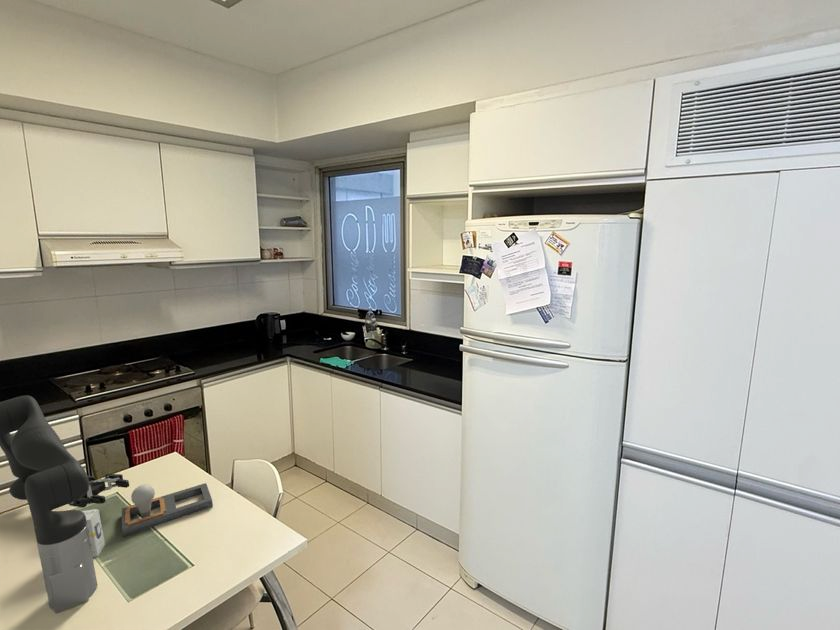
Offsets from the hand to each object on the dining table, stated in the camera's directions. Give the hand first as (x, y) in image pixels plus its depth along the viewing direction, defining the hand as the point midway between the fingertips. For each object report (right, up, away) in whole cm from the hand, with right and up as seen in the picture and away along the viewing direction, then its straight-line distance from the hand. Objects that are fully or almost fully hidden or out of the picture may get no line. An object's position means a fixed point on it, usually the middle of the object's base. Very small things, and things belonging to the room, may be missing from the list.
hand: (116, 491), depth 133 cm
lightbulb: (+9, -8, 0) cm, 13 cm away
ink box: (+2, -11, -15) cm, 19 cm away
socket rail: (+14, -7, +3) cm, 17 cm away
